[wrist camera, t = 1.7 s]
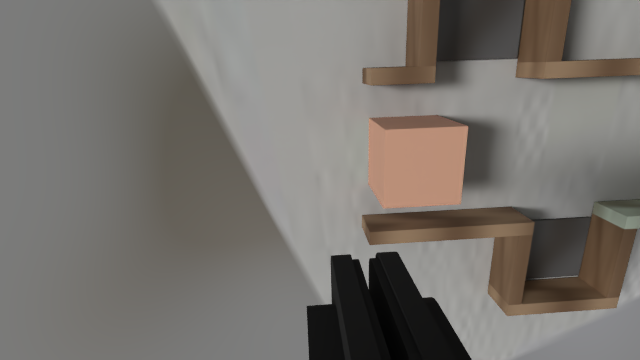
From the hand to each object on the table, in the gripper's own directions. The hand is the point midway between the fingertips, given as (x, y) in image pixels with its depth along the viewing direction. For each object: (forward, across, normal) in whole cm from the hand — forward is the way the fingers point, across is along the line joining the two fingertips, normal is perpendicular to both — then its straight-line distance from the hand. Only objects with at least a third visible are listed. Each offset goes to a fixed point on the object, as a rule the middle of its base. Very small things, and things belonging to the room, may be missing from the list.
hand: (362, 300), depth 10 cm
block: (+17, -6, 0) cm, 18 cm away
